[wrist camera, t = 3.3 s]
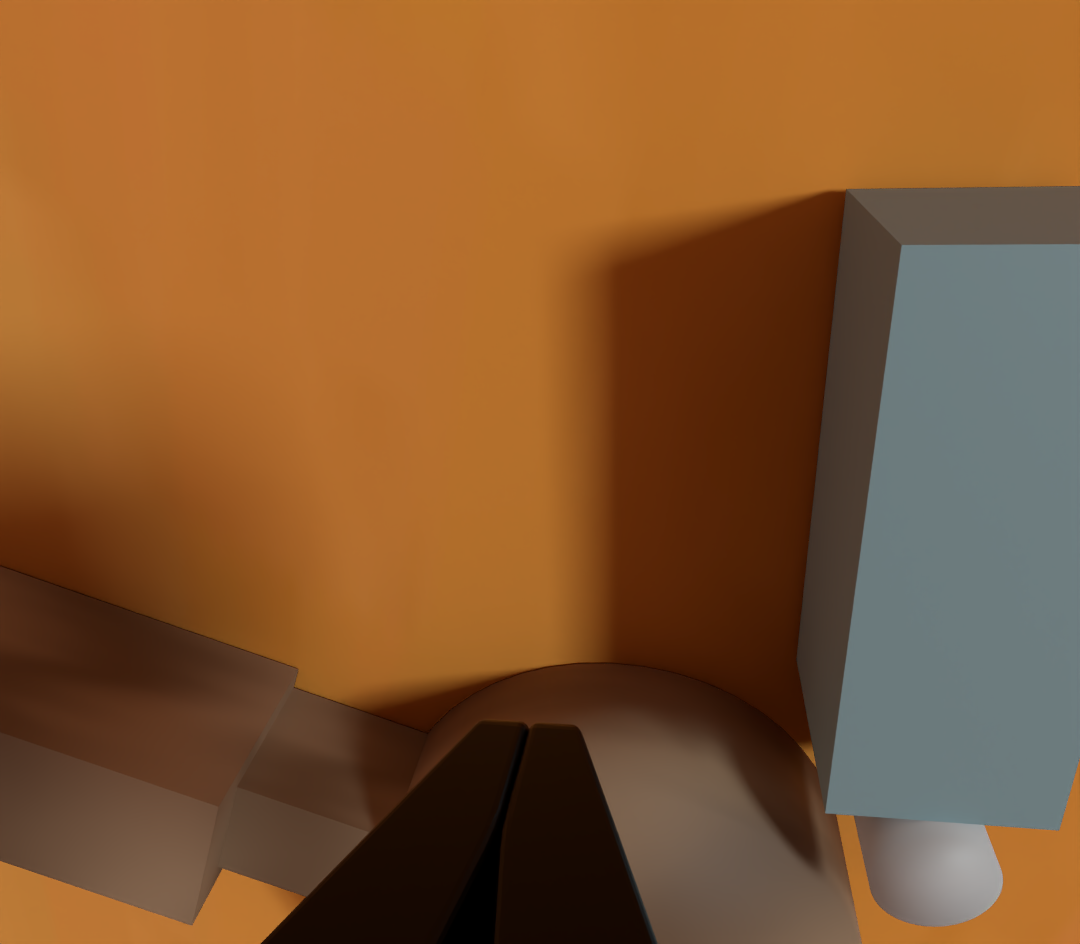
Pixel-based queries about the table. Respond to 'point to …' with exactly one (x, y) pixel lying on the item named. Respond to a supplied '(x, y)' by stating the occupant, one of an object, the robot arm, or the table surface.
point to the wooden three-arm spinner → (377, 774)
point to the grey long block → (947, 537)
